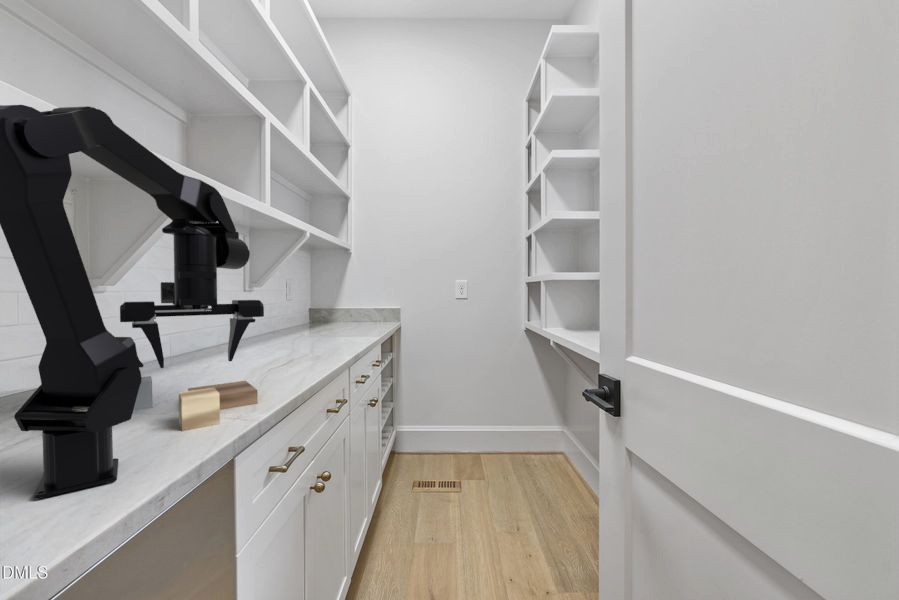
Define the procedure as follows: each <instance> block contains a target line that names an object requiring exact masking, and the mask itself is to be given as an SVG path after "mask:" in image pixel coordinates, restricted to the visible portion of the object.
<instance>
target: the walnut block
mask: <svg viewBox="0 0 899 600" xmlns="http://www.w3.org/2000/svg"><path fill="white" fill-rule="evenodd" d="M207 388H215V389H216V390H217V391H218V392H219V397H220V411H223V410H228V409H234V408H240V407H247V406H253V405H257V404H259V403H258V402H259V401H258V400H259V399H258V397H259V396H258V389H257V388H256V387H254V386H253V385H252V384H250V383H249V382H248V381H247V380H240V381H234V382H225V383H218V384H211V385H204V386H197V387H189V388H187V391H192V390H200V389H207Z"/></svg>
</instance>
